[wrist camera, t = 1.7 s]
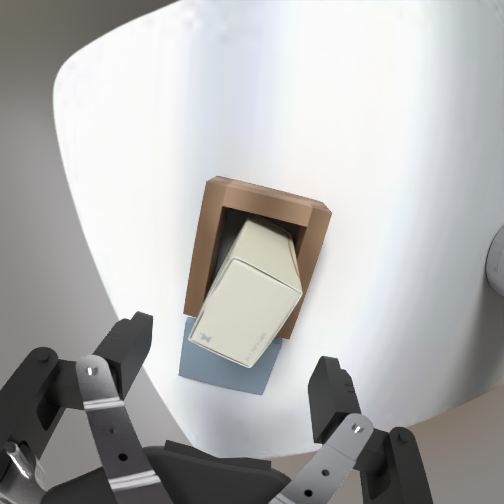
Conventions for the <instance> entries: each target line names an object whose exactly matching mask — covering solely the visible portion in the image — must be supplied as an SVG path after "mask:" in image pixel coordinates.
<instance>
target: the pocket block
mask: <svg viewBox="0 0 504 504" xmlns="http://www.w3.org/2000/svg"><path fill="white" fill-rule="evenodd" d="M228 207H230V208H234V209H238V210H242V211H246V212H250V213H254V214H258V215H263V216H267V217H271V218H275V219H278V220H282V221H286V222H290V223H294V224H298V228H297V232H296V235H295V239H294V242H293V244H294V249H295V254H296V260H297V265H298V271H299V276H300V282H301V287H302V292H303V294H302V296H301V298H300V300H299V301H298V303H297V305H296V306H295V307H294V309H293V311H292V312H291V314H290V315H289V317H288V318H287V320H286V321H285V323H284V324H283V326H282V327H281V329H280V330H279V332H278V333H277V334H276V336H277V337H281V338H286V339H290V336H291V333H292V331H293V328H294V325H295V322H296V320H297V317H298V314H299V311H300V309H301V306H302V303H303V300H304V297H305V295H306V292H307V289H308V286H309V283H310V280H311V277H312V274H313V271H314V268H315V265H316V262H317V259H318V256H319V253H320V250H321V247H322V244H323V241H324V238H325V234H326V231H327V228H328V225H329V221H330V218H331V215H332V212H331V211H330V210H329V209H328V208H327V207H326V206H325V204H324V203H323V202H320V201H317V200H313V199H309V198H306V197H302V196H298V195H294V194H291V193H287V192H283V191H279V190H275V189H271V188H267V187H263V186H259V185H255V184H251V183H247V182H242V181H238V180H234V179H229V178H225V177H221V176H216V177H214V178H212V179H210V180H208V181H207V182H206V186H205V191H204V196H203V201H202V206H201V212H200V217H199V222H198V227H197V233H196V238H195V244H194V250H193V255H192V261H191V267H190V273H189V280H188V286H187V292H186V299H185V306H184V313H183V314H186V315H190V316H193V317H198V315H199V312H200V310H201V308H202V306H203V304H204V301H205V299H206V297H207V295H208V293H209V291H210V288H211V286H212V284H213V282H214V281H213V276H214V271H215V266H216V261H217V257H218V252H219V247H220V242H221V237H222V233H223V228H224V223H225V219H226V214H227V210H228Z"/></svg>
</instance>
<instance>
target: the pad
mask: <svg viewBox="0 0 504 504" xmlns="http://www.w3.org/2000/svg"><path fill="white" fill-rule="evenodd" d="M195 321H196V319H195V318H191V317H188V318H187V320H186V323H185V330H184V337H183V345H182V352H181V360H180V368H179V376H183V377H186V378H190V379H193V380H197V381H201V382H205V383H209V384H213V385H217V386H221V387H225V388H230V389H234V390H239V391H243V392H248V393H253V394H258V395H262V394H263V391H264V389H265V386H266V384H267V381H268V379H269V376H270V373H271V371H272V368H273V366H274V363H275V360H276V358H277V355H278V352H279V350H280V347H281V339H278V338H274V339H273V340H272V342H271V343H270V344H269V346H268V347H267V348H266V350H265V351H264V352H263V354H262V355H261V356H260V358H259V359H258V360H257V361H256V362H255V364H254V365H253V366H252V367H251V368H247V367H245V366H242V365H240V364H238V363H235V362H233V361H231V360H228V359H226V358H224V357H222V356H220V355H218V354H215V353H213V352H211V351H209V350H207V349H205V348H203V347H201V346H199V345H197V344H195V343H193V342H191V341H189V340H188V337H189V335H190V332H191V330H192V328H193V326H194V323H195Z"/></svg>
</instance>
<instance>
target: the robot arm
mask: <svg viewBox="0 0 504 504" xmlns="http://www.w3.org/2000/svg"><path fill="white" fill-rule="evenodd" d="M486 273H487V279H488V282H489V284H490V286H491V287H492V288H493V289H494V290H495V291H497V292H498V293H499V294H500V295H501V296H502V297H504V226H503V227H502V228H501V229H500V231H499V232H498V233H497V235H496V237H495V238H494V240H493V242H492V245H491V247H490V250H489V253H488V258H487V265H486ZM152 327H153V316H151V315H148V314H145V313H142V312H136V313H135V315H134V316H133V318H132V319H131V320H129V319H126V318H124V319H122V320H120V321H119V322H117V323H116V324H115V325H114V326H113V328H112V329H111V331H109V333H108V334H107V336H106V337H105V338H104V339H103V341H102V342H101V344H100V345H99V346H98V347H97V349H96V350H95V351H94V353H93V354H92V355H86V356H83V357H81V358H80V359H79V360H78V361H76V362H74V361H67V360H60V359H58V355H57V353H56V352H55V351H54V350H52V349H51V348H47V347H39V348H36V349H34V350H32V351H31V352H30V353H29V355H28V356H27V357H26V358H25V359H24V361H23V362H22V363H21V364H20V366H19V367H18V368H17V369H16V371H15V372H14V374H13V375H12V376H11V377H10V379H9V380H8V381H7V382H6V384H5V385H4V386H3V388H2V389H1V390H0V500H1V501H2V502H3V503H6V504H327V503H328V502H329V500H330V499H331V497H332V496H333V495H334V494H335V492H336V491H337V490H338V488H339V487H340V485H341V484H342V483H343V481H344V480H345V478H346V477H347V476H348V474H349V473H350V471H351V470H352V469H356V470H359V471H360V478H361V486H362V495H363V504H433V501H432V497H431V492H430V488H429V484H428V481H427V477H426V473H425V470H424V466H423V463H422V459H421V456H420V453H419V449H418V446H417V443H416V440H415V437H414V435H413V433H412V432H411V431H409V430H408V429H406V428H404V427H395V428H393V429H392V430H391V431H390V432H389V433H388V432H385V431H381V430H378V429H375V428H373V424H372V422H371V421H370V420H369V419H368V418H367V417H366V416H364V415H362V414H361V410H360V407H359V403H358V400H357V396H356V393H355V389H354V387H353V382H352V379H351V377H350V375H349V374H348V373H347V372H346V370H343V369H341V368H340V365H339V361H338V359H337V358H332V357H326V356H322V357H321V358H320V359H319V361H318V363H317V366H316V368H315V370H314V372H313V374H312V376H311V378H310V380H309V384H308V395H309V404H310V412H311V421H312V430H313V439H314V443H320V444H323V446H322V447H321V448H320V450H319V451H318V452H317V453H316V454H315V456H314V457H313V458H312V459H311V460H310V462H309V463H307V465H306V466H305V467H304V468H303V469H302V470H301V471H300V472H299V473H298V475H296V476H295V478H294V479H293V480H291V479H290V478H289V477H288V476H286V475H285V474H283V473H281V472H280V471H277V470H275V469H273V468H271V461H266V460H259V459H252V458H217V457H214V456H212V455H209V454H207V453H205V452H203V451H200V450H198V449H196V448H194V447H191V446H188V445H184V444H180V443H176V442H173V441H169V440H166V443H165V446H149V447H144V448H142V446H141V443H140V441H139V439H138V437H137V435H136V432H135V430H134V427H133V425H132V423H131V420H130V418H129V415H128V413H127V410H126V408H125V405H124V403H123V401H124V399H125V397H126V395H127V393H128V391H129V389H130V387H131V385H132V383H133V381H134V380H135V378H136V376H137V374H138V372H139V370H140V368H141V366H142V364H143V362H144V360H145V359H146V357H147V355H148V353H149V350H150V347H151V341H152ZM66 408H73V409H79V410H85V413H86V416H87V420H88V424H89V427H90V430H91V434H92V437H93V440H94V444H95V447H96V450H97V453H98V455H99V459H100V461H101V464H102V467H100V468H97V469H96V470H93V471H91V472H88V473H86V474H84V475H81V476H79V477H77V478H75V479H72V480H70V481H67V482H65V483H62V484H59V485H57V486H54V487H52V488H51V489H49V490H48V491H47V492H46V491H45V489H44V479H45V471H44V468H43V466H42V465H41V463H40V462H39V460H40V457H41V455H42V453H43V451H44V449H45V447H46V445H47V443H48V441H49V439H50V437H51V436H52V433H53V432H54V430H55V428H56V426H57V424H58V422H59V420H60V418H61V417H62V415H63V413H64V411H65V409H66Z"/></svg>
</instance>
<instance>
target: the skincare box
mask: <svg viewBox="0 0 504 504" xmlns="http://www.w3.org/2000/svg"><path fill="white" fill-rule="evenodd" d="M302 294H303V292H302V287H301V282H300V276H299V271H298V265H297V260H296V254H295V249H294V244H293V239H292V235H291V233H289V232H287V231H286V230H284V229H282V228H280V227H279V226H277V225H275V224H273V223H271V222H270V221H268V220H266V219H264V218H262V217H260V216H259V215H257V214H254V213H250V214H249V215H248V217H247V219H246V221H245V222H244V224H243V226H242V227H241V229H240V231H239V233H238V235H237V236H236V238H235V240H234V242H233V244H232V245H231V247H230V249H229V251H228V253H227V255H226V257H225V259H224V261H223V263H222V265H221V267H220V269H219V271H218V273H217V276H216V278H215V280H214V282H213V284H212V286H211V288H210V291H209V293H208V295H207V297H206V299H205V301H204V304H203V306H202V308H201V310H200V312H199V315H198V317H197V319H196V321H195V323H194V326H193V328H192V330H191V332H190V335H189V337H188V340H189V341H191V342H193V343H195V344H197V345H199V346H201V347H203V348H205V349H207V350H209V351H211V352H213V353H215V354H218V355H220V356H222V357H224V358H226V359H228V360H231V361H233V362H235V363H238V364H240V365H242V366H245V367H247V368H251V367H252V366H253V365H254V364H255V362H256V361H257V360H258V359H259V358H260V356H261V355H262V354H263V352H264V351H265V350H266V348H267V347H268V346H269V344H270V343H271V342H272V340H273V339H274V337H275V336H276V334H277V333H278V332H279V330H280V329H281V327H282V326H283V324H284V323H285V321H286V320H287V318H288V317H289V315H290V314H291V312H292V311H293V309H294V307H295V306H296V305H297V303H298V301H299V300H300V298H301V296H302Z"/></svg>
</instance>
